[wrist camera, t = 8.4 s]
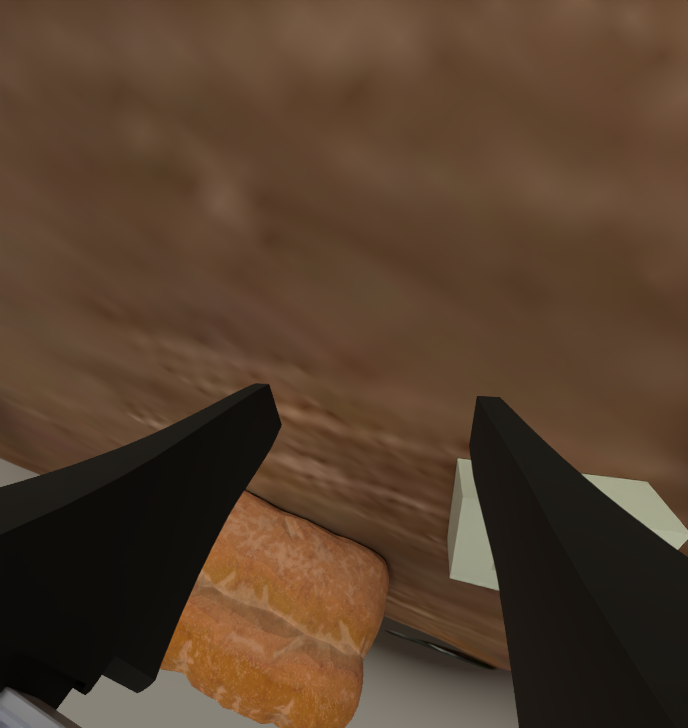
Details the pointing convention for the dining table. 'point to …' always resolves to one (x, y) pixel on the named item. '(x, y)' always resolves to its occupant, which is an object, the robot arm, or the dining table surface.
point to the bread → (281, 619)
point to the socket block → (471, 540)
